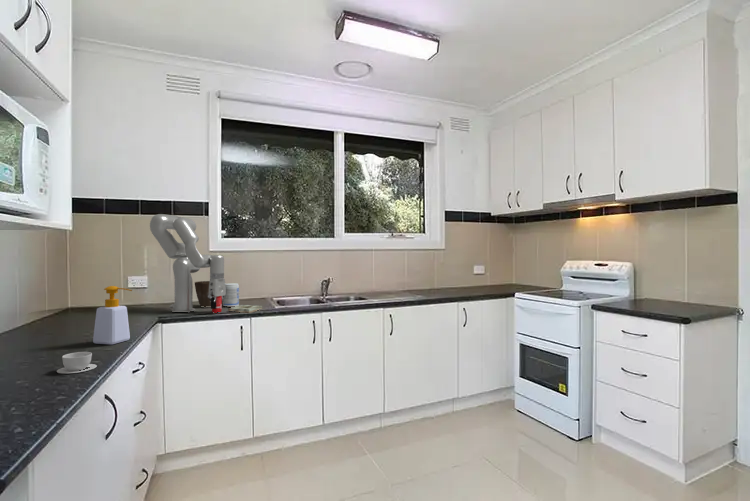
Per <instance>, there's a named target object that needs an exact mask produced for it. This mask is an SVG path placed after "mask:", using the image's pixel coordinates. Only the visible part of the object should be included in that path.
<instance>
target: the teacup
mask: <svg viewBox="0 0 750 501" xmlns="http://www.w3.org/2000/svg"><path fill="white" fill-rule="evenodd" d="M61 356H62V357H61V358H62V364H63V366H64V367H61V368H59V369H56V372H57V373H58V374H77V373H83V372H87V371H91V370H94V369H95V368H97V366H98V365H97V364H93V363H91V361H92V357H93V353H92V352H91V351H78V352H77V351H76V352H71V353H66V354H64V355H61ZM86 367H90V368H88V369H85V368H86ZM83 369H85V370H83ZM79 370H81V371H79Z"/></svg>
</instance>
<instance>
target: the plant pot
mask: <svg viewBox="0 0 750 501" xmlns="http://www.w3.org/2000/svg"><path fill="white" fill-rule="evenodd" d="M209 282H210V280H204V281H202V280H201V281H194V288H195V293H196V297H197V302H198V303H199V306H204V307H206V306H211V302H210V299H209V298H208V295H209Z"/></svg>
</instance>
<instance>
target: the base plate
mask: <svg viewBox="0 0 750 501" xmlns="http://www.w3.org/2000/svg"><path fill="white" fill-rule="evenodd" d="M259 309H262V310H263V305H251V304H250V305H249V304H239V306H235V307H231V308H228V309H227V312H228V311H236V312H235V313H239V312H240V314H241V313H243V314H251V313H254V312H258V311H257V310H259ZM259 311H260V310H259Z"/></svg>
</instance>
